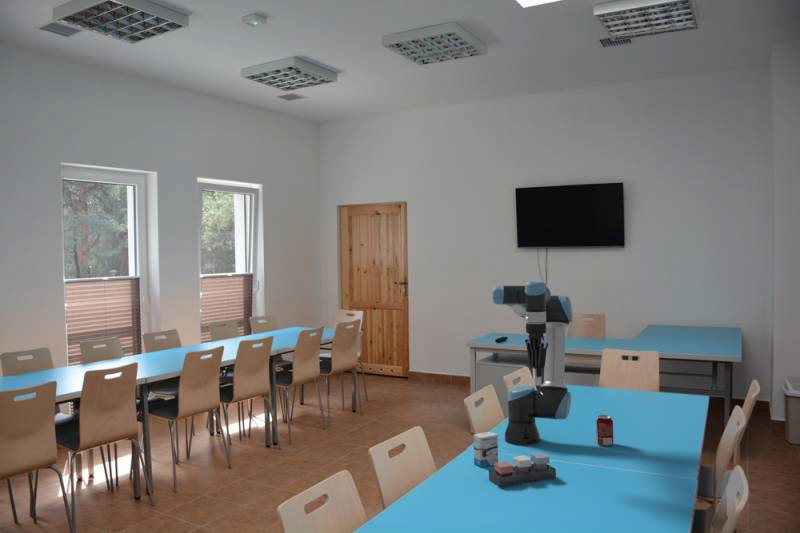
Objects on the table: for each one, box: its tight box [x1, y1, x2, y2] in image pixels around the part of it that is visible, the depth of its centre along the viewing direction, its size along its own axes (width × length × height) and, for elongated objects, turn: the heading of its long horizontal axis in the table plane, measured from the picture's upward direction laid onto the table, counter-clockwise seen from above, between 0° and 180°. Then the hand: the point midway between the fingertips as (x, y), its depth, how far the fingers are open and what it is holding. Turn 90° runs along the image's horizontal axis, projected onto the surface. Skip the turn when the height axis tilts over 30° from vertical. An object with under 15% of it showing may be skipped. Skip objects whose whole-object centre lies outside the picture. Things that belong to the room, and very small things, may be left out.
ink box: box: [473, 431, 499, 468], centre depth 241 cm, size 8×5×12 cm, turn 117°
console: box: [488, 463, 557, 489], centre depth 224 cm, size 23×8×4 cm, turn 109°
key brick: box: [494, 461, 514, 476], centre depth 222 cm, size 5×5×5 cm
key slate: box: [530, 452, 550, 470], centre depth 227 cm, size 5×5×5 cm
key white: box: [512, 454, 532, 473], centre depth 224 cm, size 5×5×5 cm
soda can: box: [595, 414, 614, 448], centre depth 261 cm, size 7×7×12 cm
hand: (537, 384), depth 233 cm, fingers closed
